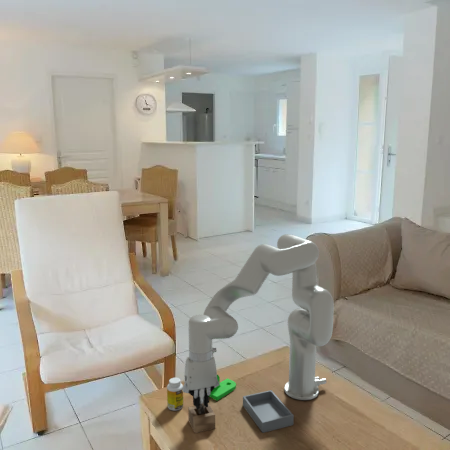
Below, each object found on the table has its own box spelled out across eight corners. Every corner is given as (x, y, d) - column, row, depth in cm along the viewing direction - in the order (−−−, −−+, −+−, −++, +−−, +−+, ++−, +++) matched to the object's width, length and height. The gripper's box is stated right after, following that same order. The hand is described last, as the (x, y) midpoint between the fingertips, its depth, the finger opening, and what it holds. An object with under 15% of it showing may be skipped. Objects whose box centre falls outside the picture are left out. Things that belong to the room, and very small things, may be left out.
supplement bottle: (176, 413, 158) (175, 386, 156) (164, 408, 161) (163, 381, 159) (186, 405, 163) (186, 379, 161) (174, 400, 166) (173, 374, 164)
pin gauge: (203, 409, 153) (203, 381, 151) (206, 413, 150) (205, 385, 148) (196, 410, 152) (196, 382, 150) (199, 414, 150) (198, 386, 148)
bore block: (208, 416, 156) (208, 403, 155) (215, 428, 150) (215, 414, 149) (188, 420, 154) (188, 407, 153) (194, 433, 148) (194, 419, 147)
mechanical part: (216, 402, 165) (216, 381, 164) (205, 395, 169) (205, 375, 168) (239, 388, 174) (239, 369, 172) (227, 382, 178) (227, 363, 176)
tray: (271, 399, 166) (271, 390, 166) (293, 425, 152) (293, 415, 151) (242, 405, 163) (242, 396, 162) (262, 432, 148) (262, 422, 147)
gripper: (220, 344, 153) (220, 395, 157) (173, 352, 148) (174, 404, 151) (228, 354, 147) (228, 407, 150) (179, 363, 141) (180, 417, 144)
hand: (201, 405), depth 151 cm, fingers closed on pin gauge, 2 cm apart
